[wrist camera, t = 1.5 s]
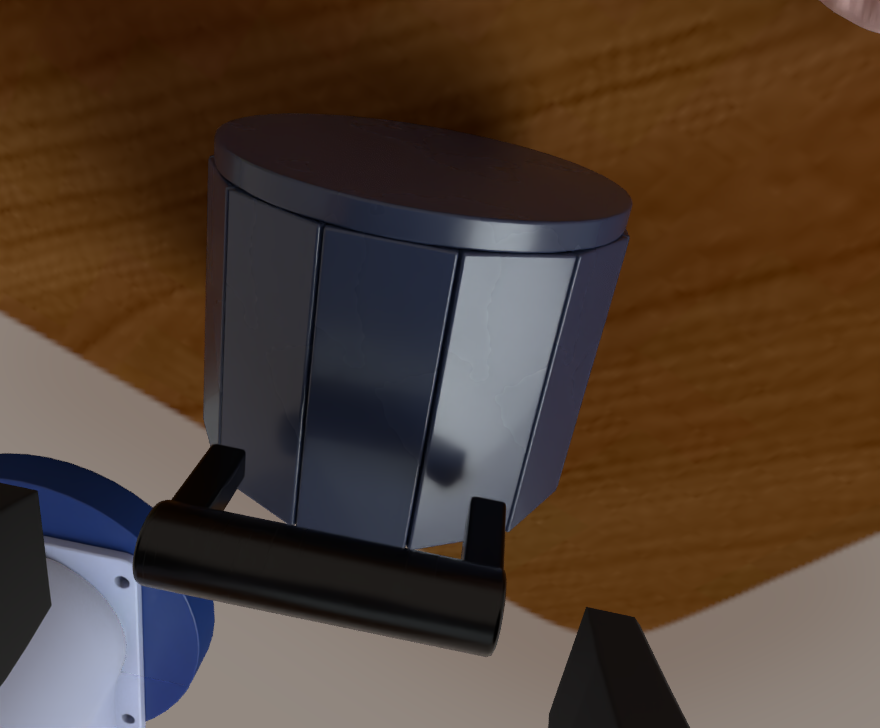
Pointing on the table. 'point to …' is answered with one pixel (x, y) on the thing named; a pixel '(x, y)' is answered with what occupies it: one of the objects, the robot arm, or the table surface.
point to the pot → (384, 369)
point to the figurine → (858, 12)
